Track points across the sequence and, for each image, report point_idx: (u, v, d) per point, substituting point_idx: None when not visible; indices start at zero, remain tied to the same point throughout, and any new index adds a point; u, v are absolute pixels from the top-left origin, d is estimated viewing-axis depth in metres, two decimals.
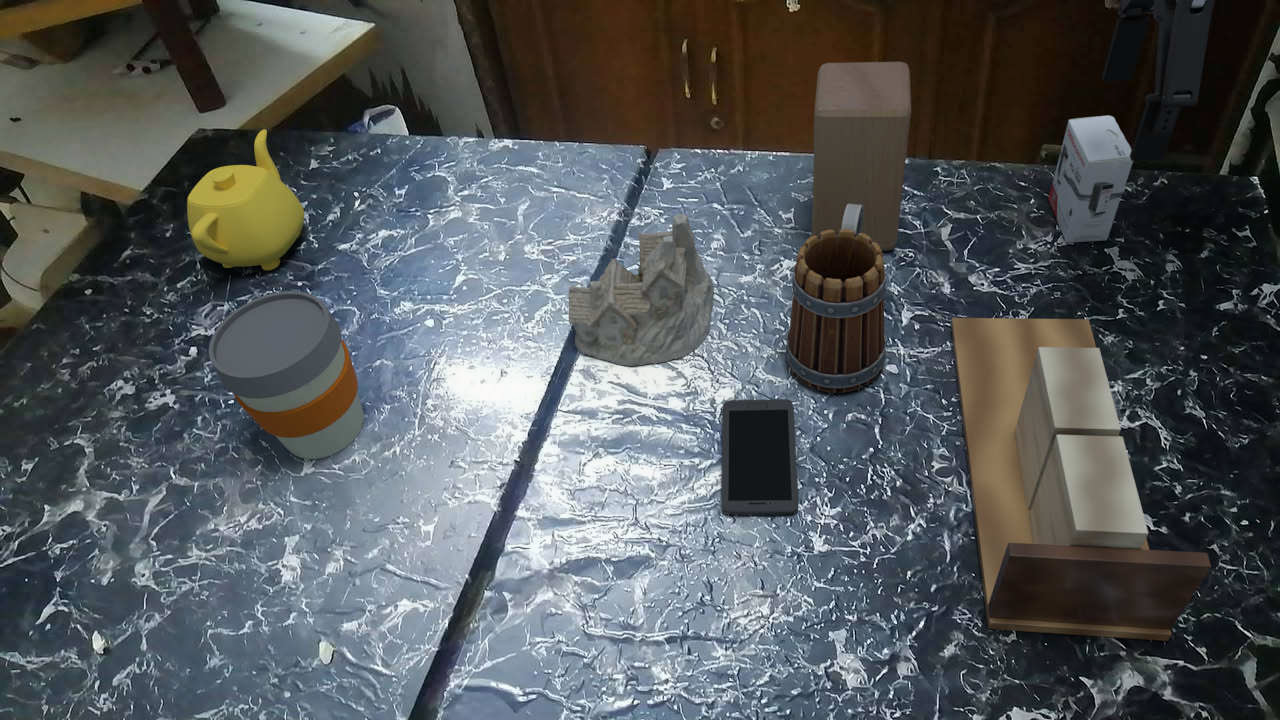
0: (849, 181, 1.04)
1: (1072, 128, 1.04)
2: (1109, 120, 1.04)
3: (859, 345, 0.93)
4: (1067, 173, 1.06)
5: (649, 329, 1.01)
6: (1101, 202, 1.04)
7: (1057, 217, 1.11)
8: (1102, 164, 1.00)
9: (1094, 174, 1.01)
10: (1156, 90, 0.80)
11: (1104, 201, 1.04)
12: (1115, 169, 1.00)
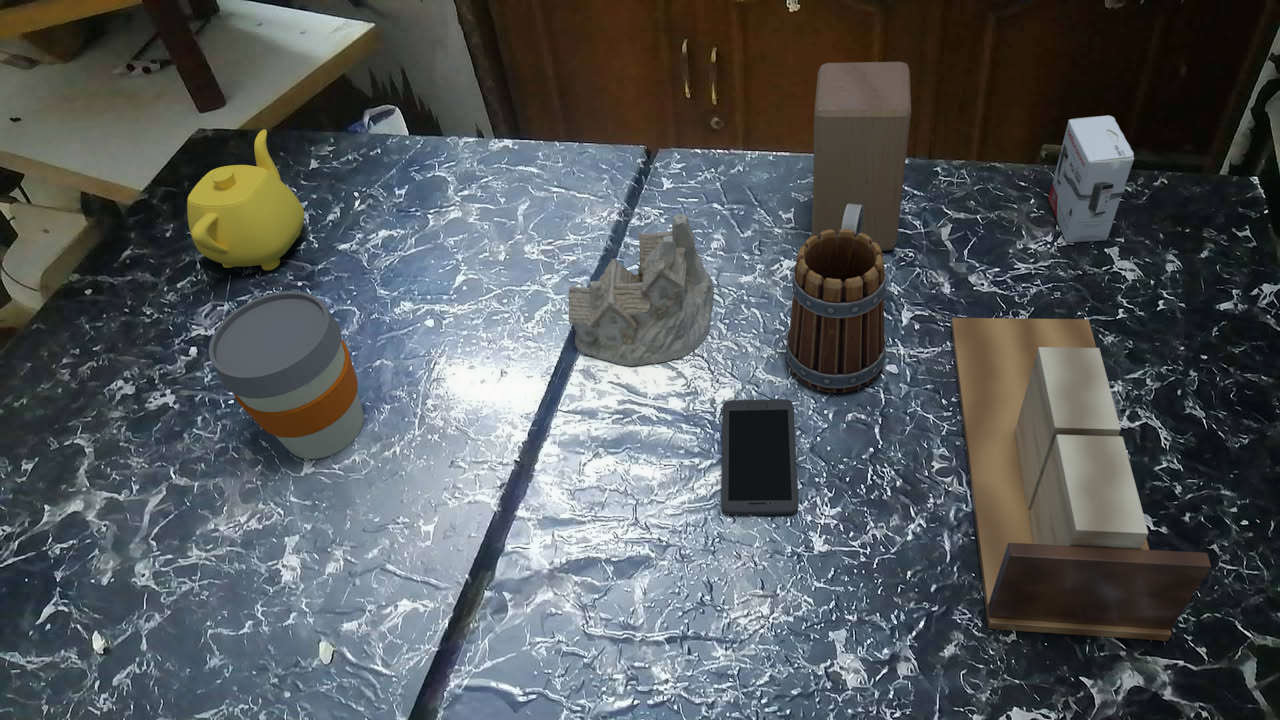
0: (849, 181, 1.04)
1: (1072, 128, 1.04)
2: (1109, 120, 1.04)
3: (859, 345, 0.93)
4: (1067, 173, 1.06)
5: (649, 329, 1.01)
6: (1101, 202, 1.04)
7: (1057, 217, 1.11)
8: (1102, 164, 1.00)
9: (1094, 174, 1.01)
10: None
11: (1104, 201, 1.04)
12: (1115, 169, 1.00)
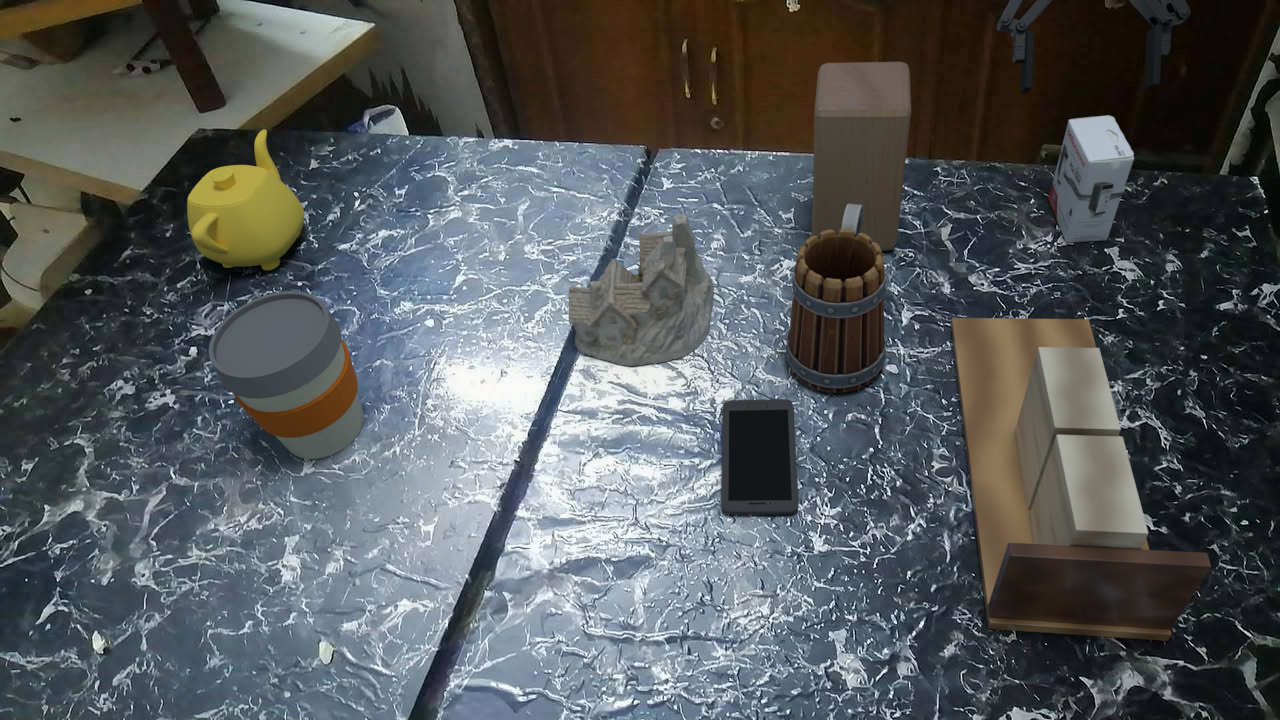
0: (849, 181, 1.04)
1: (1072, 127, 1.04)
2: (1109, 120, 1.04)
3: (859, 345, 0.93)
4: (1067, 173, 1.06)
5: (649, 329, 1.01)
6: (1101, 202, 1.04)
7: (1057, 217, 1.11)
8: (1102, 164, 1.00)
9: (1094, 174, 1.01)
10: None
11: (1104, 201, 1.04)
12: (1115, 169, 1.00)
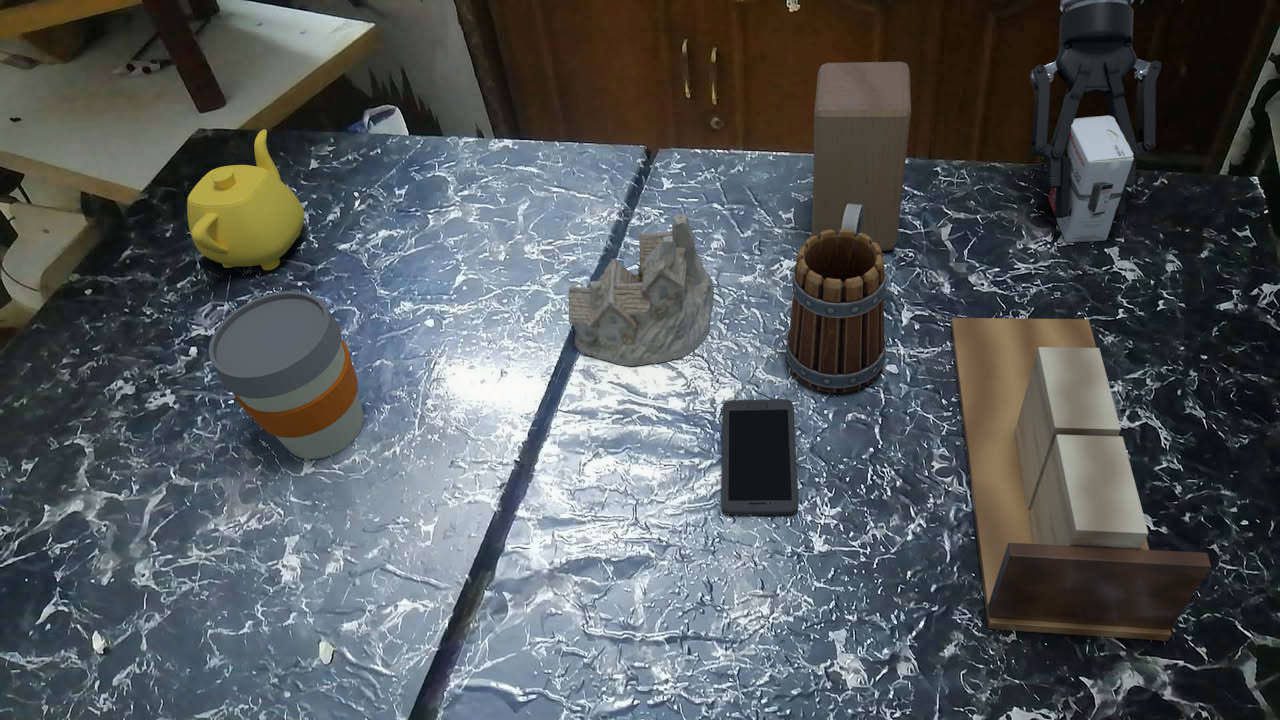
0: (849, 181, 1.04)
1: (1072, 127, 1.04)
2: (1109, 120, 1.04)
3: (859, 345, 0.93)
4: None
5: (649, 329, 1.01)
6: (1101, 202, 1.04)
7: None
8: (1102, 164, 1.00)
9: (1094, 174, 1.01)
10: None
11: (1104, 201, 1.04)
12: (1114, 169, 1.00)
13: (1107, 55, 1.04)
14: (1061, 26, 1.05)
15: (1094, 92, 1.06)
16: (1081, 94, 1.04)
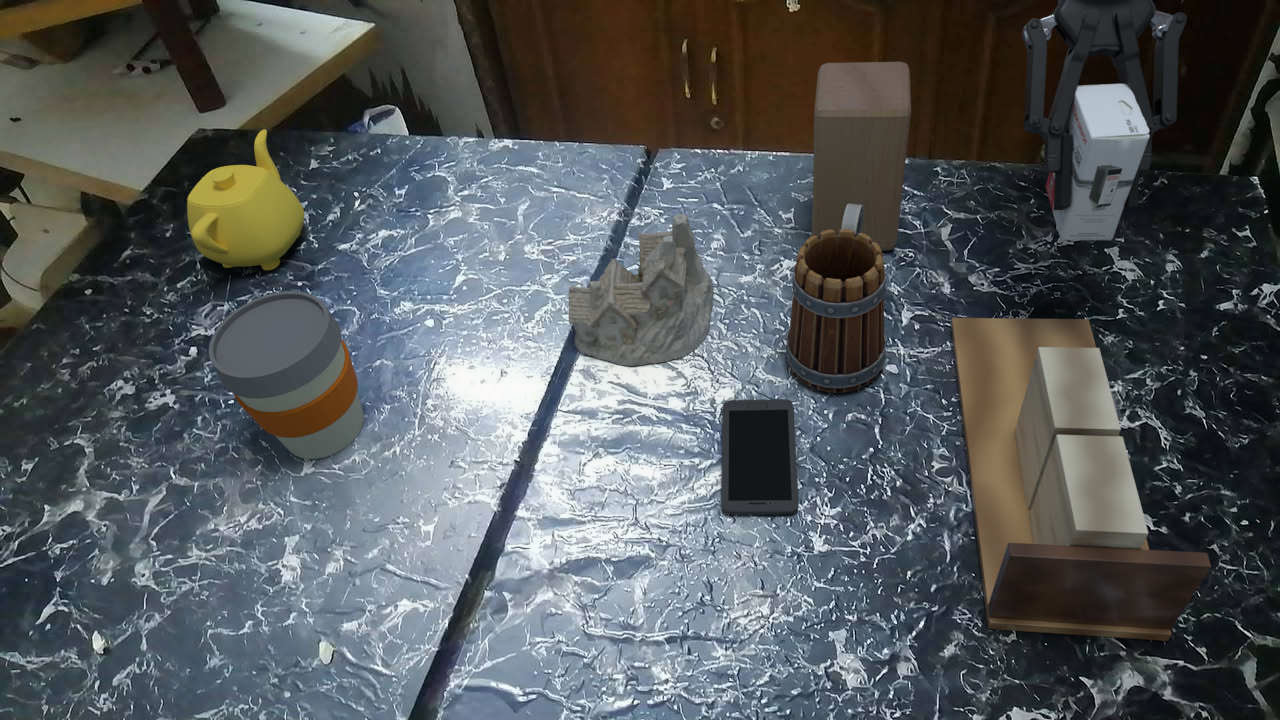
0: (849, 181, 1.04)
1: (1076, 96, 0.84)
2: (1124, 89, 0.83)
3: (859, 345, 0.93)
4: None
5: (649, 329, 1.01)
6: (1106, 191, 0.83)
7: (1053, 208, 0.90)
8: (1108, 142, 0.79)
9: (1098, 154, 0.80)
10: None
11: (1110, 190, 0.83)
12: (1124, 149, 0.80)
13: (1118, 5, 0.83)
14: None
15: (1102, 53, 0.85)
16: (1086, 54, 0.83)
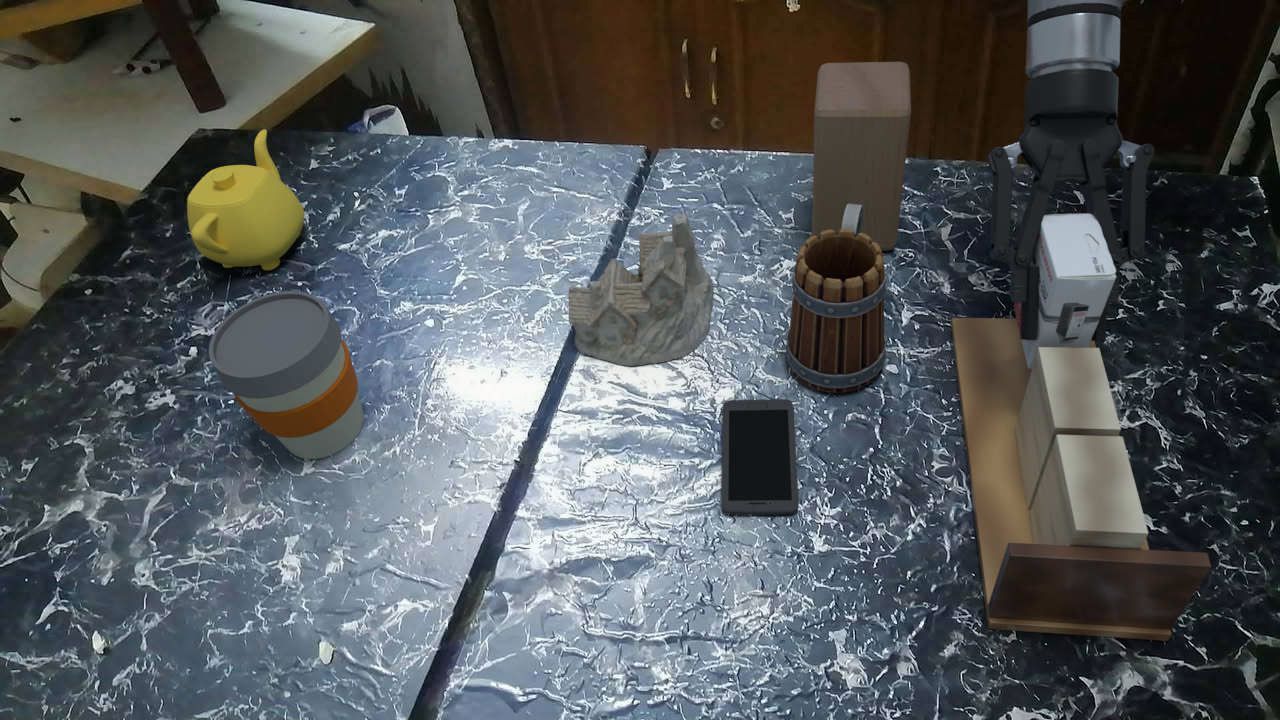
0: (849, 181, 1.04)
1: (1042, 227, 0.81)
2: (1091, 220, 0.81)
3: (859, 345, 0.93)
4: None
5: (649, 329, 1.01)
6: (1073, 326, 0.81)
7: None
8: (1074, 282, 0.77)
9: (1063, 292, 0.78)
10: None
11: (1077, 325, 0.81)
12: (1090, 289, 0.77)
13: (1085, 135, 0.81)
14: (1026, 96, 0.82)
15: (1068, 181, 0.82)
16: (1052, 185, 0.81)
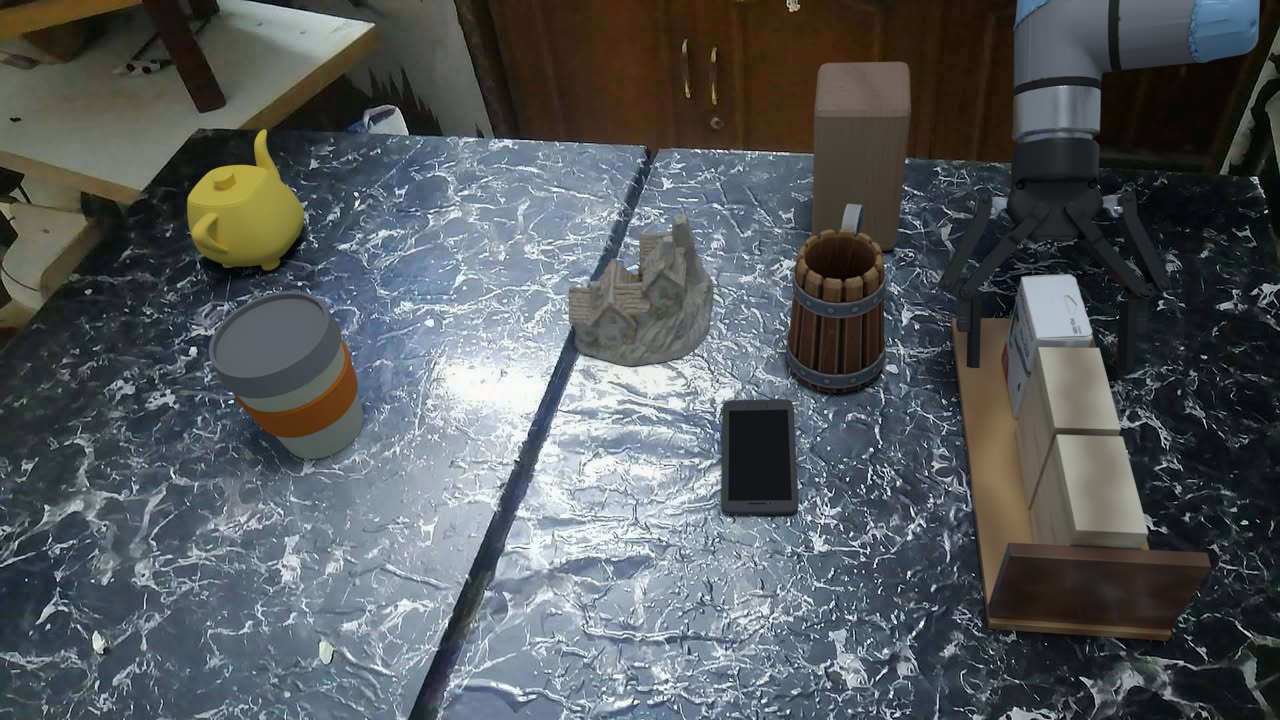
0: (849, 181, 1.04)
1: (1024, 288, 0.87)
2: (1070, 281, 0.86)
3: (859, 345, 0.93)
4: (1018, 339, 0.89)
5: (649, 329, 1.01)
6: None
7: (1008, 384, 0.93)
8: (1053, 343, 0.82)
9: None
10: None
11: None
12: None
13: None
14: (1013, 161, 0.87)
15: (1053, 240, 0.87)
16: (1021, 240, 0.86)
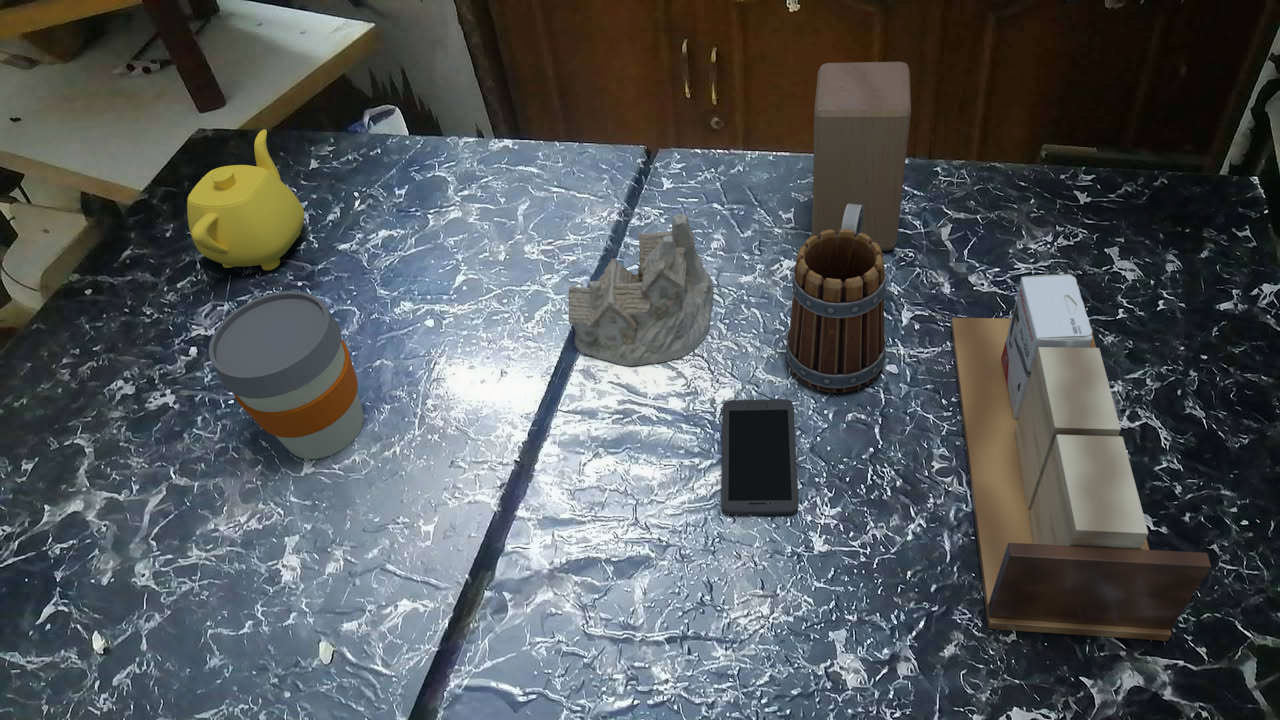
0: (849, 181, 1.04)
1: (1024, 288, 0.87)
2: (1070, 281, 0.86)
3: (859, 345, 0.93)
4: (1018, 339, 0.89)
5: (649, 329, 1.01)
6: None
7: (1008, 384, 0.93)
8: (1053, 343, 0.82)
9: None
10: None
11: None
12: None
13: None
14: None
15: None
16: None
